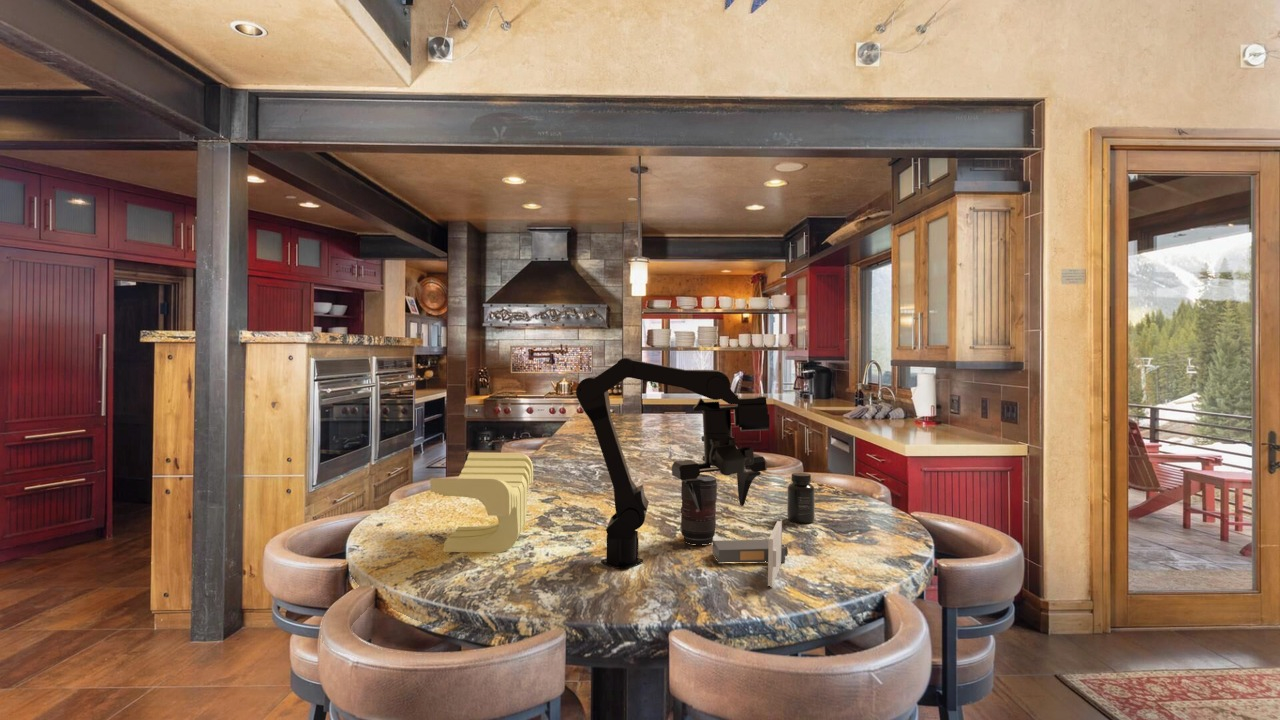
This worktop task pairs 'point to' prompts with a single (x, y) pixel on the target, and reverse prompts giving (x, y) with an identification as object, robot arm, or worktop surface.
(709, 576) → the worktop surface
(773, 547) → the side door
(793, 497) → the supplement bottle
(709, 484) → the camera lens
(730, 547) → the grey rectangular box
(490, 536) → the slatted curved stool
